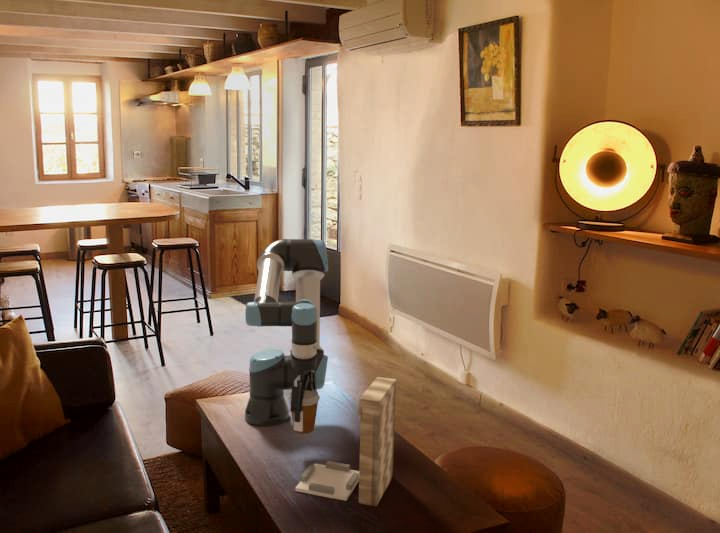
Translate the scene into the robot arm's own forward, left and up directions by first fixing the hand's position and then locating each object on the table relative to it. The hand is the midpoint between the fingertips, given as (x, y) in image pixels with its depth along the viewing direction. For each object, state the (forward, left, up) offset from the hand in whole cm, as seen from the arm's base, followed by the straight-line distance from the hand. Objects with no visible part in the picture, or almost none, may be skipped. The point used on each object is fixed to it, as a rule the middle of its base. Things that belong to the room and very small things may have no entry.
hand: (303, 424), depth 212 cm
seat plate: (+15, +14, -9) cm, 23 cm away
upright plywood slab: (+14, +28, -9) cm, 32 cm away
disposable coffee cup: (0, 0, -2) cm, 2 cm away
